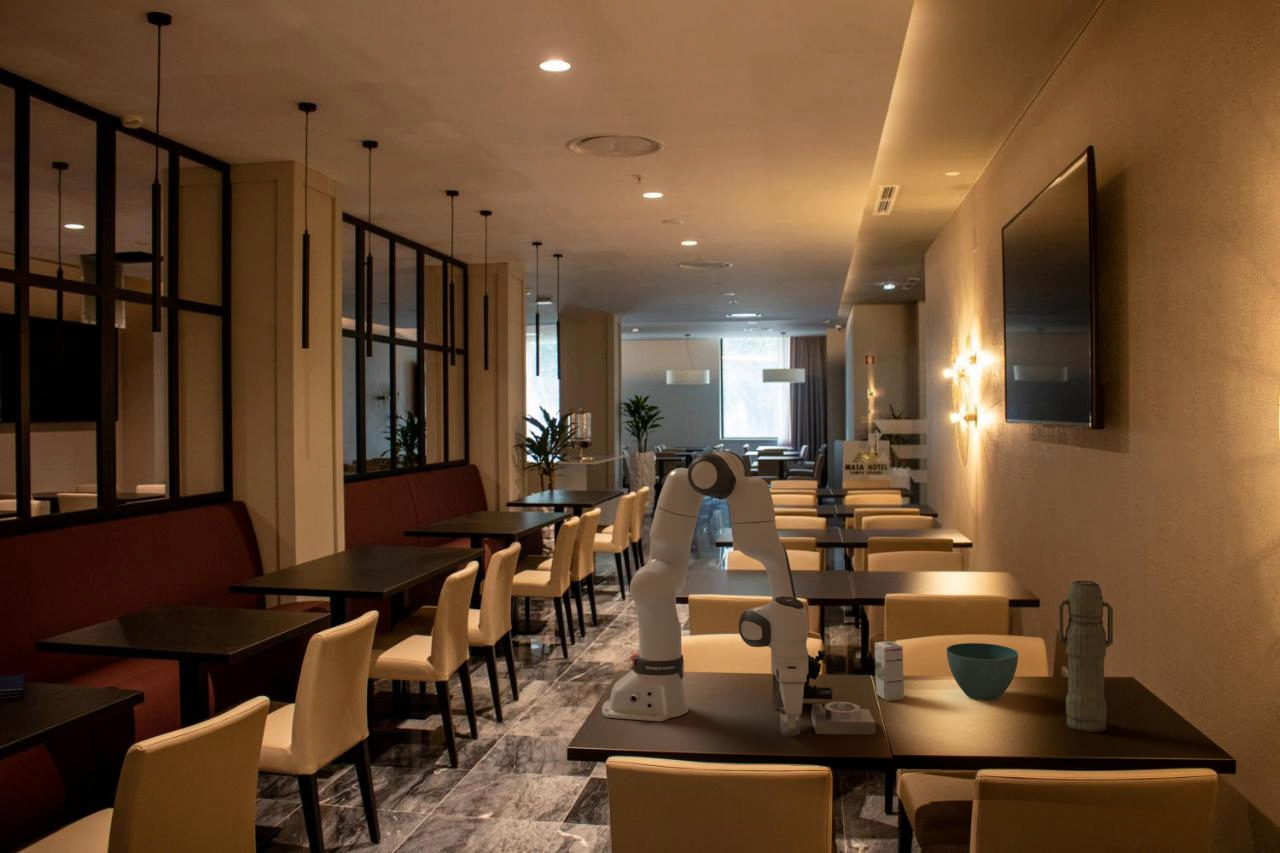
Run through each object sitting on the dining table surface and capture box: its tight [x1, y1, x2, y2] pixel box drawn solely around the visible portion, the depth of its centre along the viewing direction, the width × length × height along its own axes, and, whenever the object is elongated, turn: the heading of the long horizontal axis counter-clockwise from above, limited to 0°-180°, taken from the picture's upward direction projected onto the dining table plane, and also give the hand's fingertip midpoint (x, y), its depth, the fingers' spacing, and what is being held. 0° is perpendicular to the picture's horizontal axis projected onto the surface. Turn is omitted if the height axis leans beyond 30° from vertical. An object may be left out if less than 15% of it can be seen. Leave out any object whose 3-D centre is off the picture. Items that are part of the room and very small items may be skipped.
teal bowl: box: [946, 642, 1019, 701], centre depth 255 cm, size 18×18×12 cm
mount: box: [810, 701, 876, 736], centre depth 231 cm, size 14×10×5 cm
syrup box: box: [874, 640, 905, 702], centre depth 254 cm, size 6×6×14 cm
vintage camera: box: [771, 649, 833, 711], centre depth 248 cm, size 10×16×20 cm, turn 79°
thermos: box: [1058, 580, 1114, 733], centre depth 229 cm, size 9×12×35 cm
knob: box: [779, 705, 801, 737], centre depth 228 cm, size 5×5×6 cm
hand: (790, 722), depth 228 cm, fingers closed on knob, 5 cm apart
